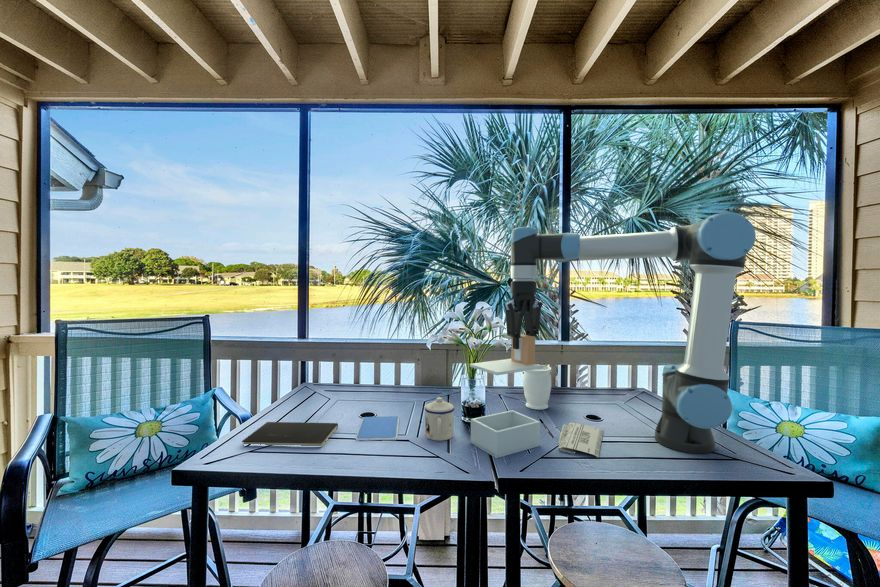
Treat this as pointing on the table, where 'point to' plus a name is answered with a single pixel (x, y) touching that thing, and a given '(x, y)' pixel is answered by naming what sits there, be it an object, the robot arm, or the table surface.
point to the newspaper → (580, 439)
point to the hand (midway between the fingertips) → (522, 359)
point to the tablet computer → (378, 428)
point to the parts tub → (505, 433)
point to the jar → (537, 387)
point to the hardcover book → (292, 433)
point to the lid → (513, 360)
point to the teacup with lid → (439, 420)
